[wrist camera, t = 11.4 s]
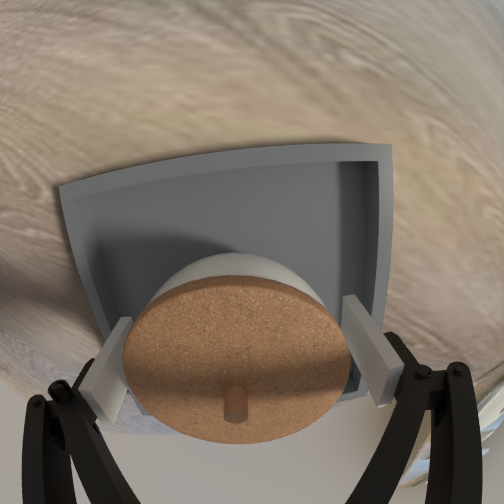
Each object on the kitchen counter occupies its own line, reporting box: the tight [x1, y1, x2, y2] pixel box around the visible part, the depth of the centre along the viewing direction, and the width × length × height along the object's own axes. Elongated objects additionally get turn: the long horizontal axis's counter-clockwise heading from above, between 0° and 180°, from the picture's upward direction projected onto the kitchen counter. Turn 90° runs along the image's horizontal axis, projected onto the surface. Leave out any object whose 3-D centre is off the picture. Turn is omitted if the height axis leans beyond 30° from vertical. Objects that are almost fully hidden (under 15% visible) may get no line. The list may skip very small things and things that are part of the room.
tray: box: [59, 143, 393, 416], centre depth 18 cm, size 20×20×2 cm
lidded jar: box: [122, 253, 351, 444], centre depth 14 cm, size 11×11×9 cm
